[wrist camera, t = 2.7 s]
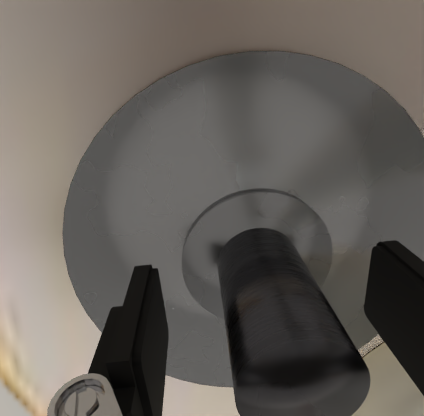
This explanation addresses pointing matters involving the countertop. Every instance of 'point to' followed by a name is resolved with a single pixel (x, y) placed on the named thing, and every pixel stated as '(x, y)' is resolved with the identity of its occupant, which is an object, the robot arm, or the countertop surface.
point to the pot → (389, 387)
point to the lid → (252, 222)
